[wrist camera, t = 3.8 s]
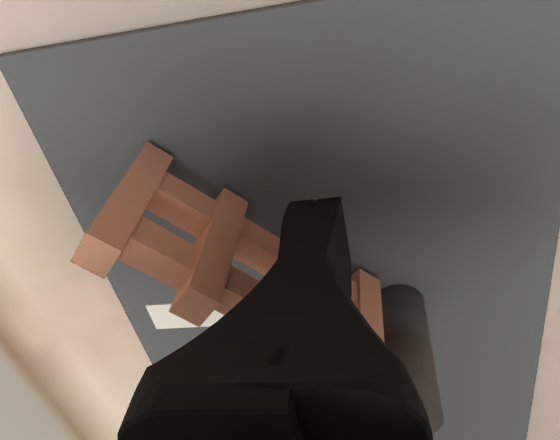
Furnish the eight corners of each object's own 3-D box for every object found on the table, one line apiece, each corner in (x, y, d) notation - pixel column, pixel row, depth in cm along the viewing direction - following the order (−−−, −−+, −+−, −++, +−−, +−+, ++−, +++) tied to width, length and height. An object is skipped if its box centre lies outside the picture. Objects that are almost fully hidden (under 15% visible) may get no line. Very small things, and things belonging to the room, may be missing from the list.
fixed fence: (428, 448, 22) (445, 569, 18) (390, 448, 22) (399, 567, 18) (422, 276, 16) (443, 401, 12) (371, 279, 16) (377, 402, 13)
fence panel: (379, 280, 16) (388, 392, 12) (359, 298, 16) (362, 410, 13) (147, 141, 14) (86, 232, 10) (132, 167, 14) (69, 261, 11)
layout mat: (521, 452, 21) (523, 461, 21) (202, 452, 24) (200, 460, 24) (596, -52, 10) (604, -49, 10) (1, 54, 13) (-7, 58, 13)
